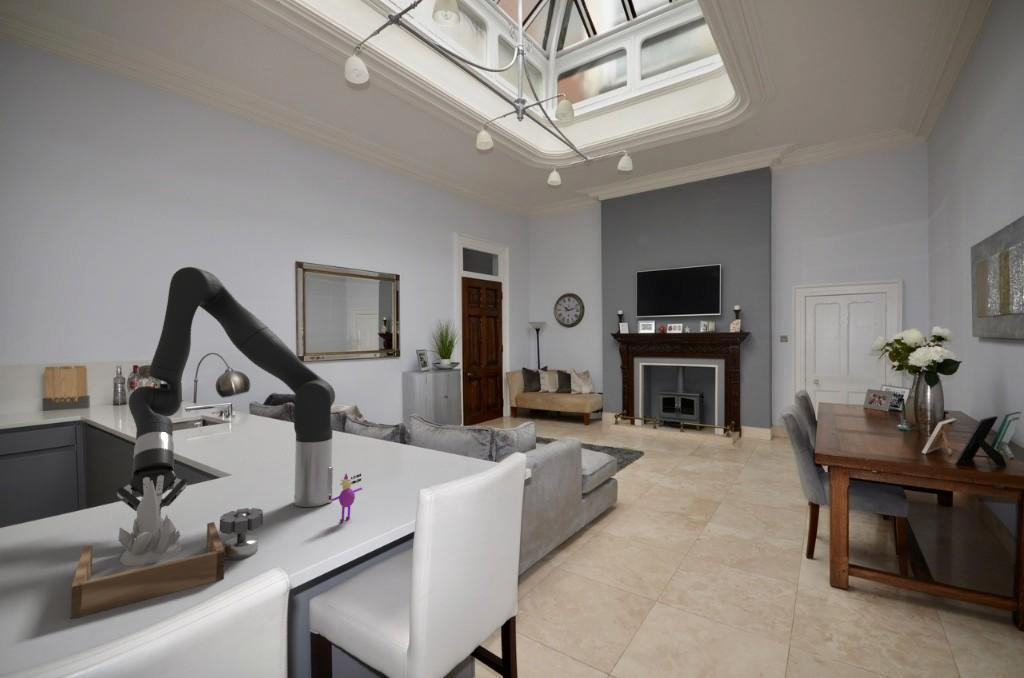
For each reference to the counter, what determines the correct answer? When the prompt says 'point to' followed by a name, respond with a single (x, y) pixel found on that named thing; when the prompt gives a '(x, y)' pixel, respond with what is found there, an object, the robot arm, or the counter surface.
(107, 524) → the counter surface
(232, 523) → the wheel
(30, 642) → the counter surface
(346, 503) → the wizard figurine
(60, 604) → the counter surface
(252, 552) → the axle mount
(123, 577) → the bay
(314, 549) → the counter surface
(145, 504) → the crystal
